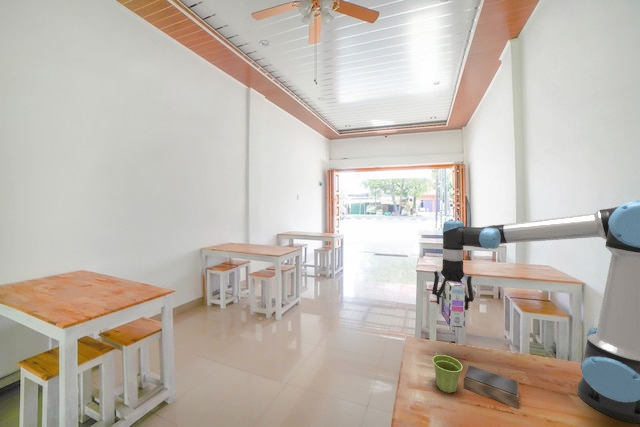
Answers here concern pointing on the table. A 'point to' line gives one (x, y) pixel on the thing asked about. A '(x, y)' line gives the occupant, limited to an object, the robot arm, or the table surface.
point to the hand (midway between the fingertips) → (452, 314)
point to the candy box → (454, 303)
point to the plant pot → (447, 372)
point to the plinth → (492, 385)
